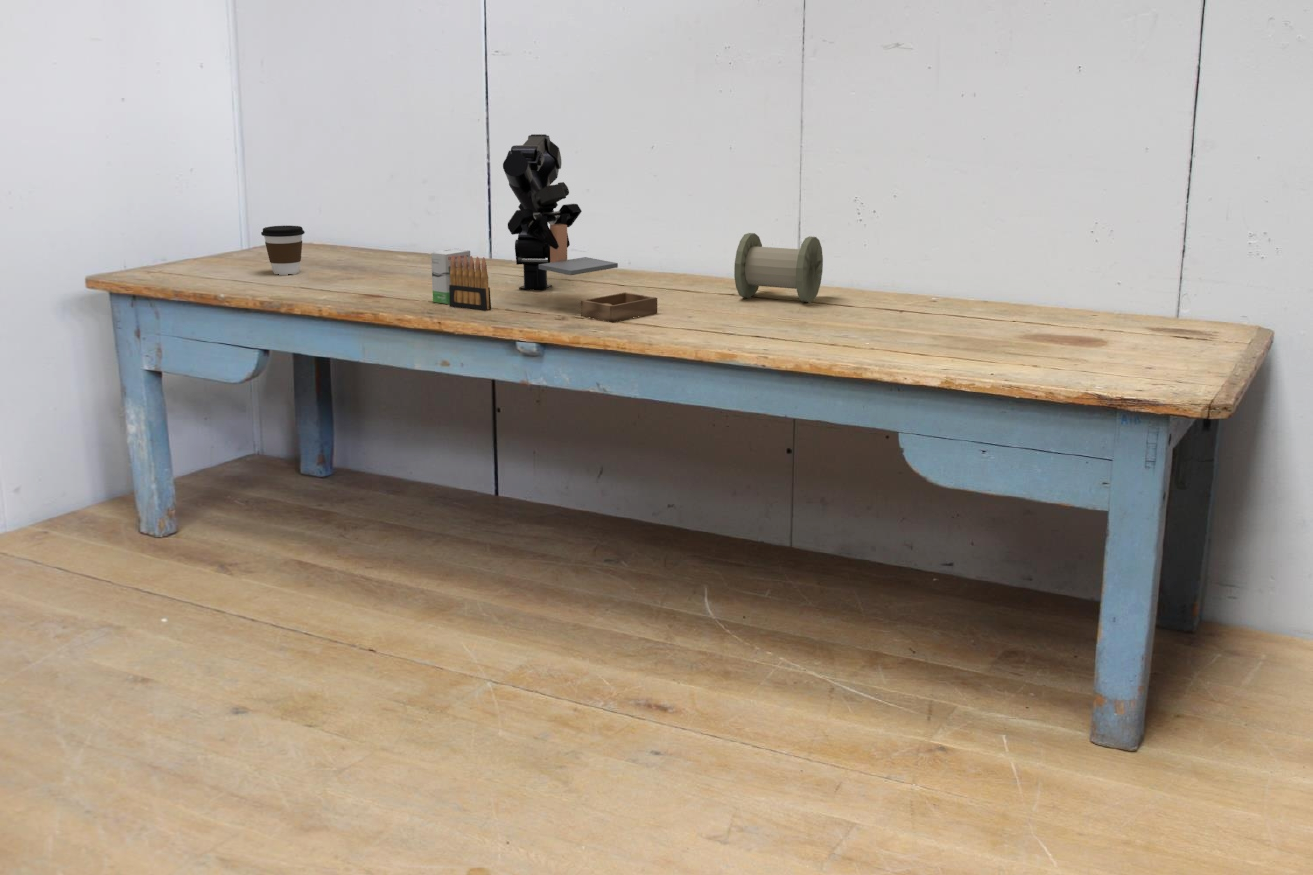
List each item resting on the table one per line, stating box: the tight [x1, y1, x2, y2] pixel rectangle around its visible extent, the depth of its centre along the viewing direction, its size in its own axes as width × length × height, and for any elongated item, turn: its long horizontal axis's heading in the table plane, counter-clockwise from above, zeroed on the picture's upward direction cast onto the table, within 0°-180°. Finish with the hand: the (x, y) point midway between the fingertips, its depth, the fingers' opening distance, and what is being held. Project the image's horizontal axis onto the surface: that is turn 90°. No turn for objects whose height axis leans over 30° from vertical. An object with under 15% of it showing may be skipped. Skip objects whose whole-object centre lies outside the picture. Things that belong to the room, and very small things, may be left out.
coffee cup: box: [261, 225, 306, 276], centre depth 340 cm, size 11×11×12 cm
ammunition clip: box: [448, 254, 492, 312], centre depth 293 cm, size 11×2×12 cm, turn 60°
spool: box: [733, 232, 824, 304], centre depth 303 cm, size 16×15×15 cm
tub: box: [580, 292, 658, 323], centre depth 286 cm, size 10×14×4 cm
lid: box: [539, 224, 619, 276], centre depth 292 cm, size 13×15×9 cm
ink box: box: [430, 248, 471, 305], centre depth 302 cm, size 9×5×12 cm, turn 144°
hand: (562, 247), depth 295 cm, fingers closed on lid, 3 cm apart
